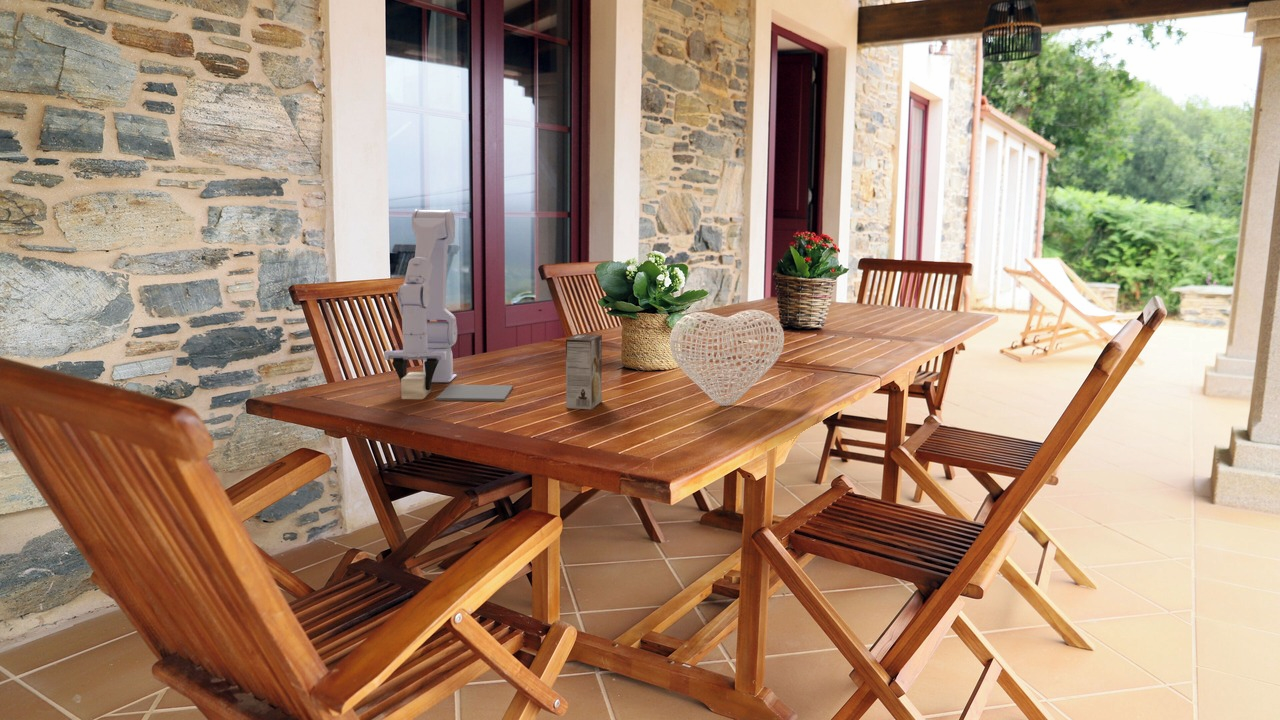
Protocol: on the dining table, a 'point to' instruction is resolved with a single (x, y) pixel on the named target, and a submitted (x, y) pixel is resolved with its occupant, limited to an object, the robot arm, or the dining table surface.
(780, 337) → the heart
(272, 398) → the dining table surface
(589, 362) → the coffee box
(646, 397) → the dining table surface
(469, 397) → the rubber mat
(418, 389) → the pale wooden block
